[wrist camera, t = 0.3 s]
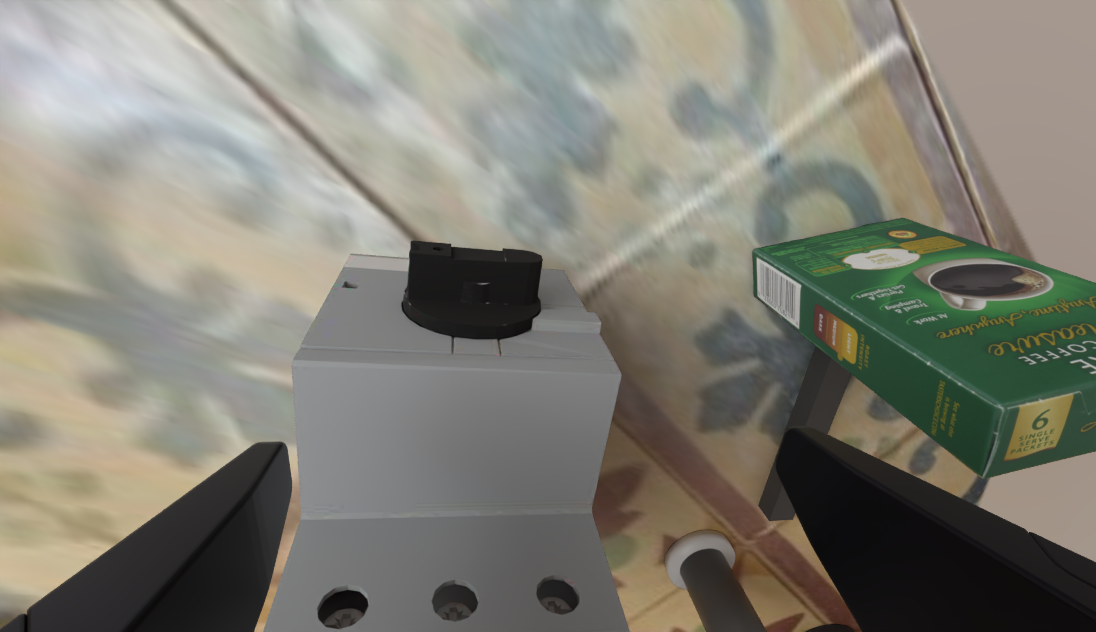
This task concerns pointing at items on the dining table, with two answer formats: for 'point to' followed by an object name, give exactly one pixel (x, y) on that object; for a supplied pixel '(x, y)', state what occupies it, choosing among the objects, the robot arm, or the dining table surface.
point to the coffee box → (948, 336)
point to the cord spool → (712, 582)
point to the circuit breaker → (450, 451)
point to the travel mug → (831, 628)
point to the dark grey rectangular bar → (807, 422)
